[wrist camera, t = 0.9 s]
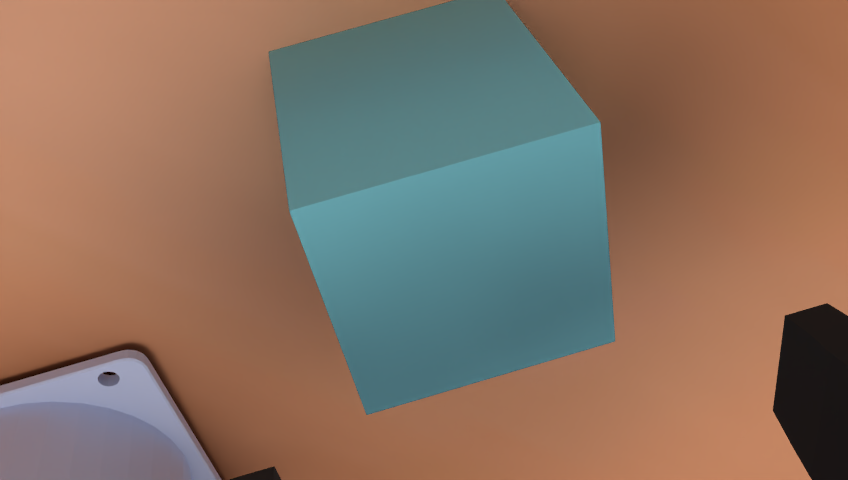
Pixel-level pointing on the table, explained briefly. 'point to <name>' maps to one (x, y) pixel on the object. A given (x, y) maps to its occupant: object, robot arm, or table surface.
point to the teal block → (445, 198)
